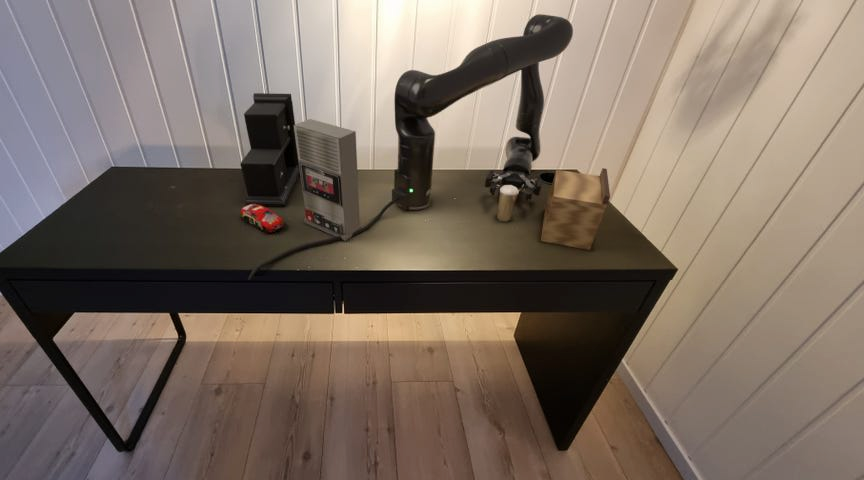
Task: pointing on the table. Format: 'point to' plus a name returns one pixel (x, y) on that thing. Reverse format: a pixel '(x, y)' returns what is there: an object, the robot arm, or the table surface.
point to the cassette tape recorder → (329, 177)
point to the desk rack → (575, 208)
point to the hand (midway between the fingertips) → (510, 194)
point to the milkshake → (507, 202)
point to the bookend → (270, 150)
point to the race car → (262, 218)
